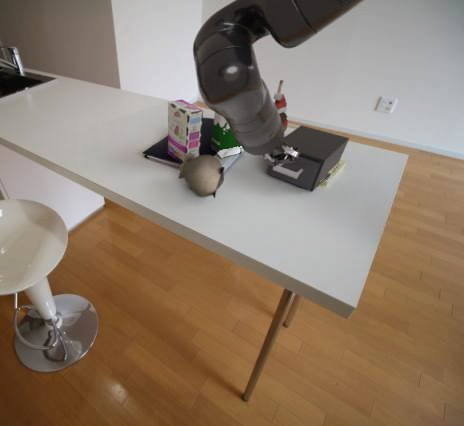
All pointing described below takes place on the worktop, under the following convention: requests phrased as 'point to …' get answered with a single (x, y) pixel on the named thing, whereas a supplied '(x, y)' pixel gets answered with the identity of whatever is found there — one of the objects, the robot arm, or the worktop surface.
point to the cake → (281, 105)
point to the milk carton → (222, 134)
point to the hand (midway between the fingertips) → (274, 161)
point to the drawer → (297, 171)
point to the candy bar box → (184, 128)
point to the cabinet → (317, 149)
